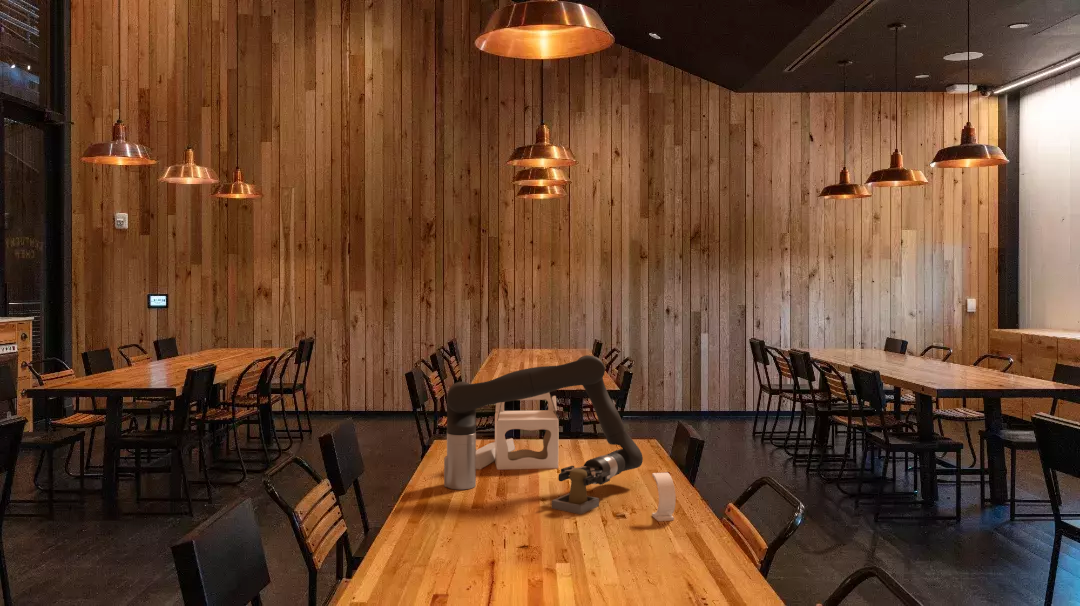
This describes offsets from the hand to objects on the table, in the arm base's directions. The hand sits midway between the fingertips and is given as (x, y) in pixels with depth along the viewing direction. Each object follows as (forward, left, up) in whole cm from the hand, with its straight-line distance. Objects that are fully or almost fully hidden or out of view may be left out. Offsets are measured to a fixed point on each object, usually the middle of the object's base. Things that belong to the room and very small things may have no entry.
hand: (572, 480), depth 213 cm
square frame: (0, +2, -8) cm, 9 cm away
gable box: (-32, +45, -9) cm, 56 cm away
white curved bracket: (+26, 0, -9) cm, 28 cm away
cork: (+1, +2, -9) cm, 9 cm away
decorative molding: (-50, +50, -9) cm, 71 cm away
